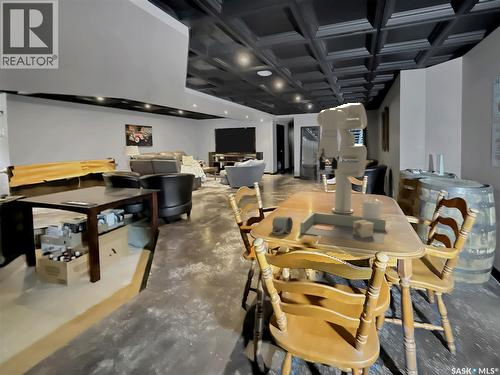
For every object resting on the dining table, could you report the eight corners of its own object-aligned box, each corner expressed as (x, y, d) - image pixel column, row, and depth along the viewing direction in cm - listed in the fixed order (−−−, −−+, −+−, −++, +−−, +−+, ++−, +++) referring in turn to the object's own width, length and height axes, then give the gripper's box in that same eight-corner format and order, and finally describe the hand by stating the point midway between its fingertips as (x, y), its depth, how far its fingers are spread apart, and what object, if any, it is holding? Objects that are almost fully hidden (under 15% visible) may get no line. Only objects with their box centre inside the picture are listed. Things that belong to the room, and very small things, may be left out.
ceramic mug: (278, 227, 142) (278, 213, 141) (293, 230, 138) (293, 215, 136) (268, 234, 133) (267, 218, 132) (283, 236, 129) (283, 221, 128)
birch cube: (353, 233, 130) (353, 221, 129) (363, 232, 132) (364, 219, 131) (361, 237, 124) (362, 224, 123) (372, 235, 126) (373, 223, 125)
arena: (312, 221, 152) (312, 212, 151) (385, 230, 135) (385, 219, 135) (300, 233, 133) (300, 222, 132) (383, 245, 116) (384, 232, 115)
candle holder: (380, 221, 150) (381, 200, 148) (382, 226, 141) (383, 203, 139) (360, 220, 154) (361, 199, 152) (361, 225, 144) (362, 202, 143)
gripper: (333, 135, 145) (332, 168, 147) (312, 134, 135) (311, 170, 137) (346, 135, 139) (345, 169, 141) (324, 134, 129) (323, 170, 131)
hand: (328, 169), depth 139 cm, fingers open, 9 cm apart
